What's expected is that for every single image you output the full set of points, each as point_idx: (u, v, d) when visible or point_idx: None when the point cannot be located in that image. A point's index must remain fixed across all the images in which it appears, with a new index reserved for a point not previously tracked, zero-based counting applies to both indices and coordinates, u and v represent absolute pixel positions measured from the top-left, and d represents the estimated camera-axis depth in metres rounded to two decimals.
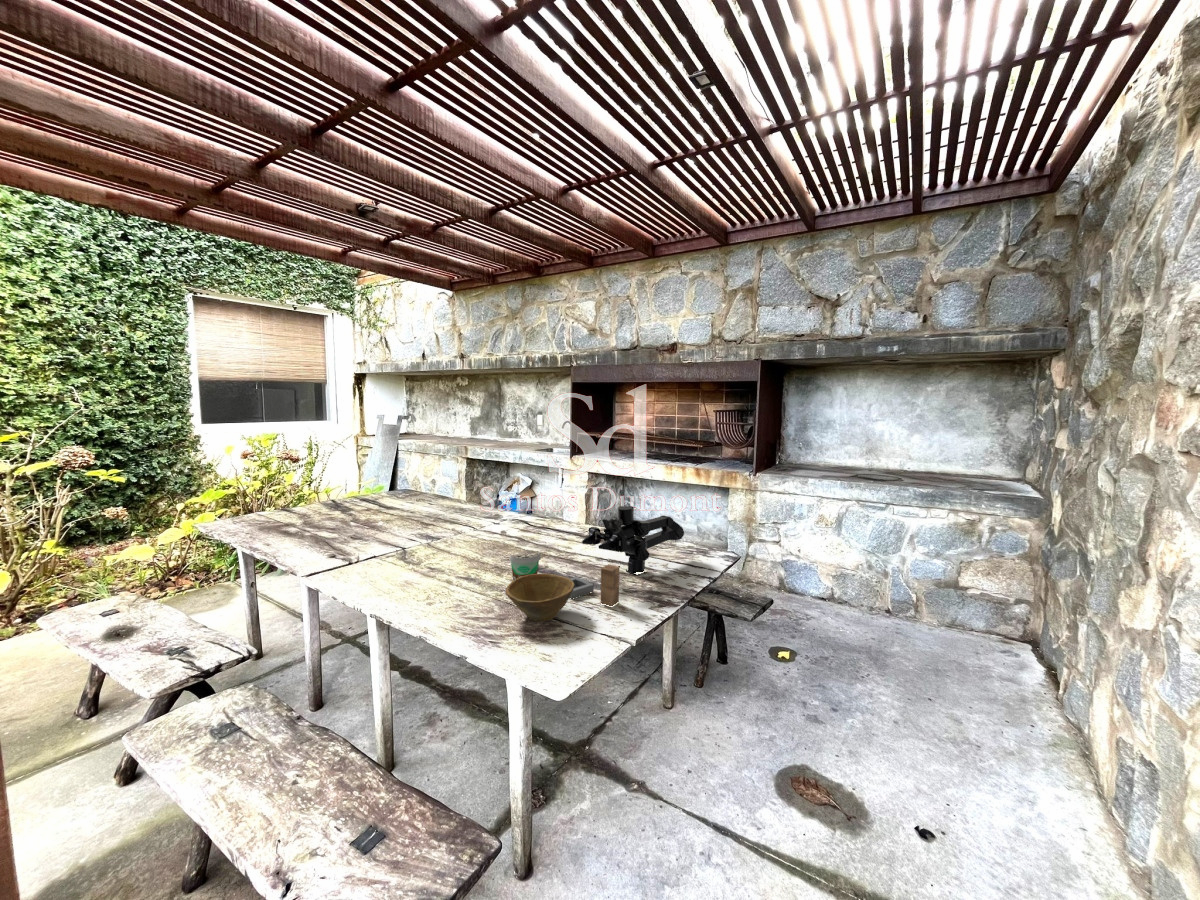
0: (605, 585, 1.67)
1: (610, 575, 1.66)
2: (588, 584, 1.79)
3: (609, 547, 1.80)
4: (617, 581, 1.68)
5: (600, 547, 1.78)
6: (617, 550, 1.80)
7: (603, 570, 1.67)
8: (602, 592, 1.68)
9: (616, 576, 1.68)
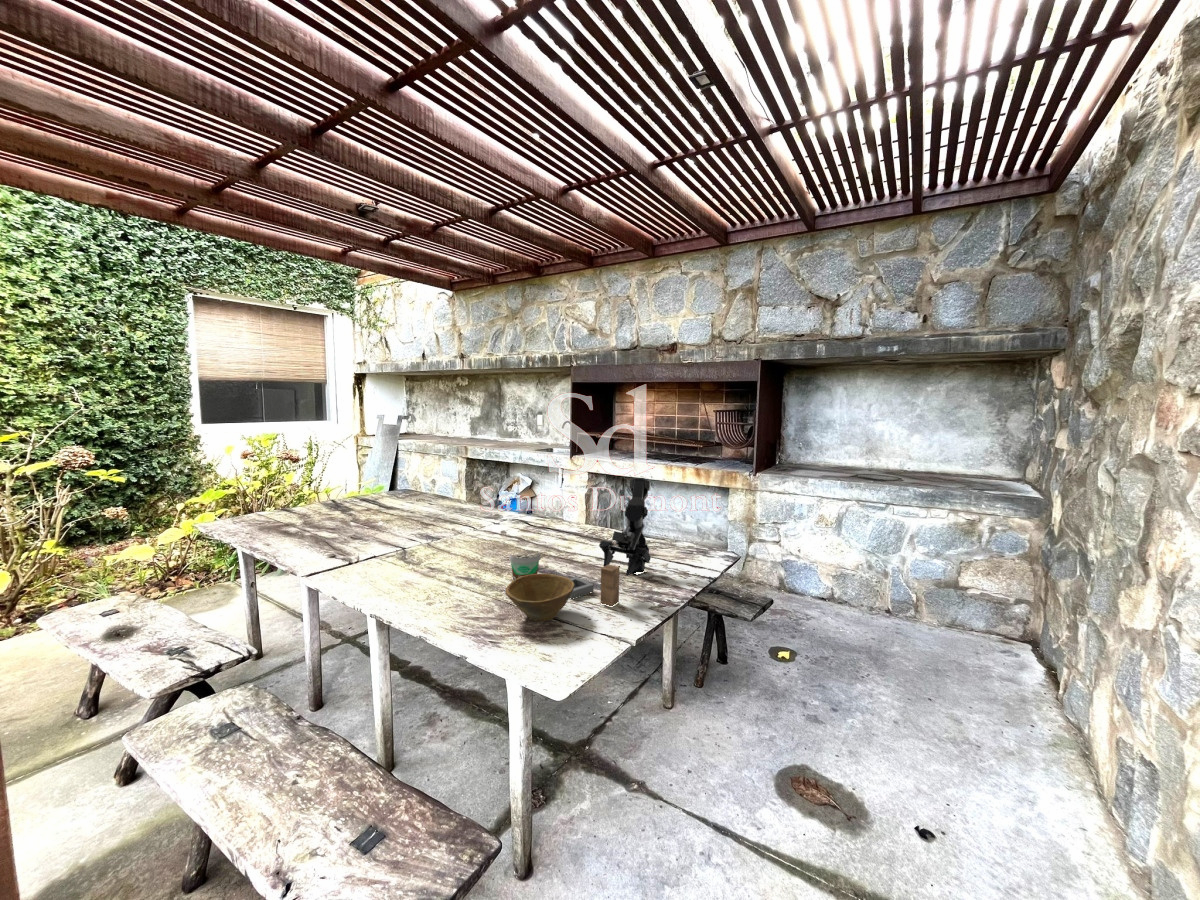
0: (605, 585, 1.67)
1: (610, 575, 1.66)
2: (588, 584, 1.79)
3: (635, 566, 1.70)
4: (617, 581, 1.68)
5: (627, 574, 1.69)
6: (643, 563, 1.72)
7: (603, 570, 1.67)
8: (602, 592, 1.68)
9: (616, 576, 1.68)
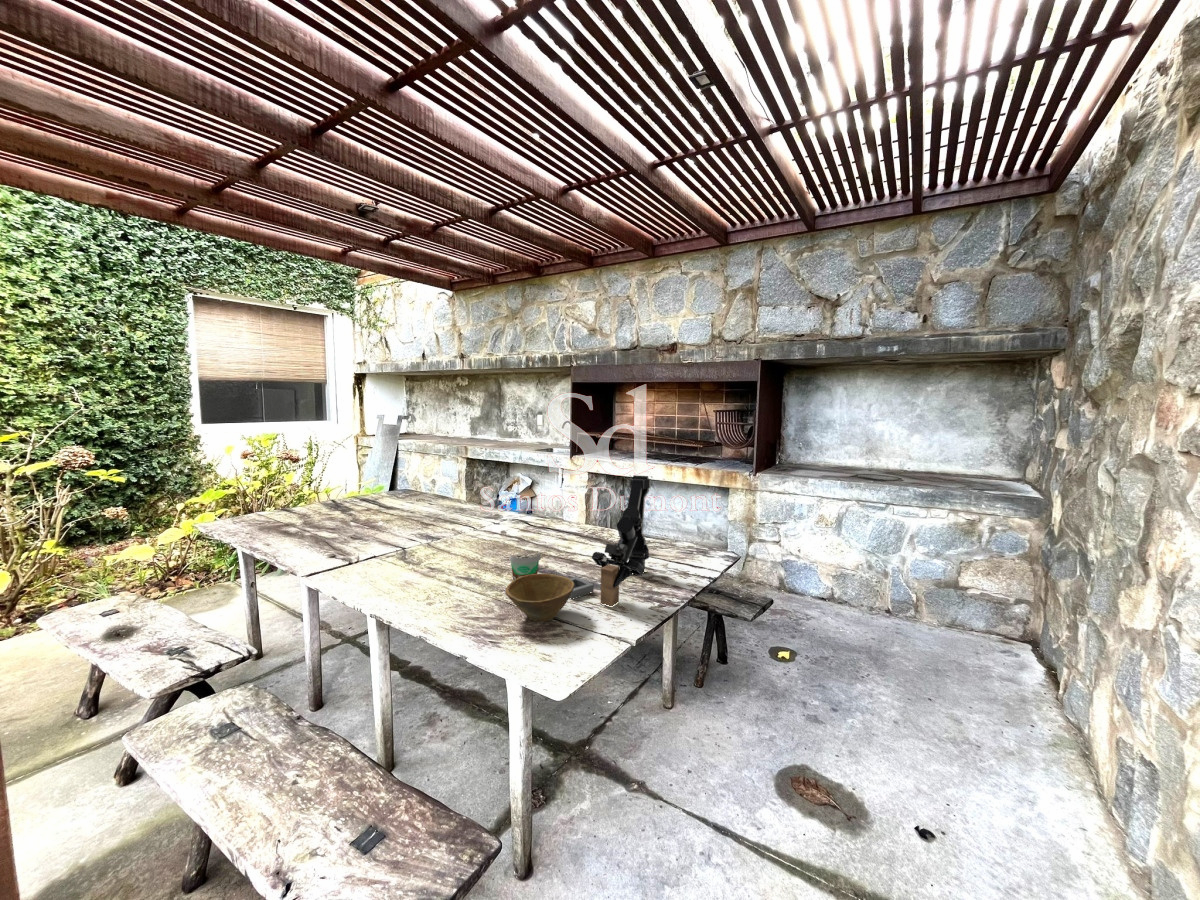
0: (605, 585, 1.67)
1: (610, 575, 1.66)
2: (588, 584, 1.79)
3: (622, 578, 1.68)
4: None
5: (614, 586, 1.66)
6: (630, 575, 1.70)
7: (603, 570, 1.67)
8: (602, 592, 1.68)
9: (616, 576, 1.68)
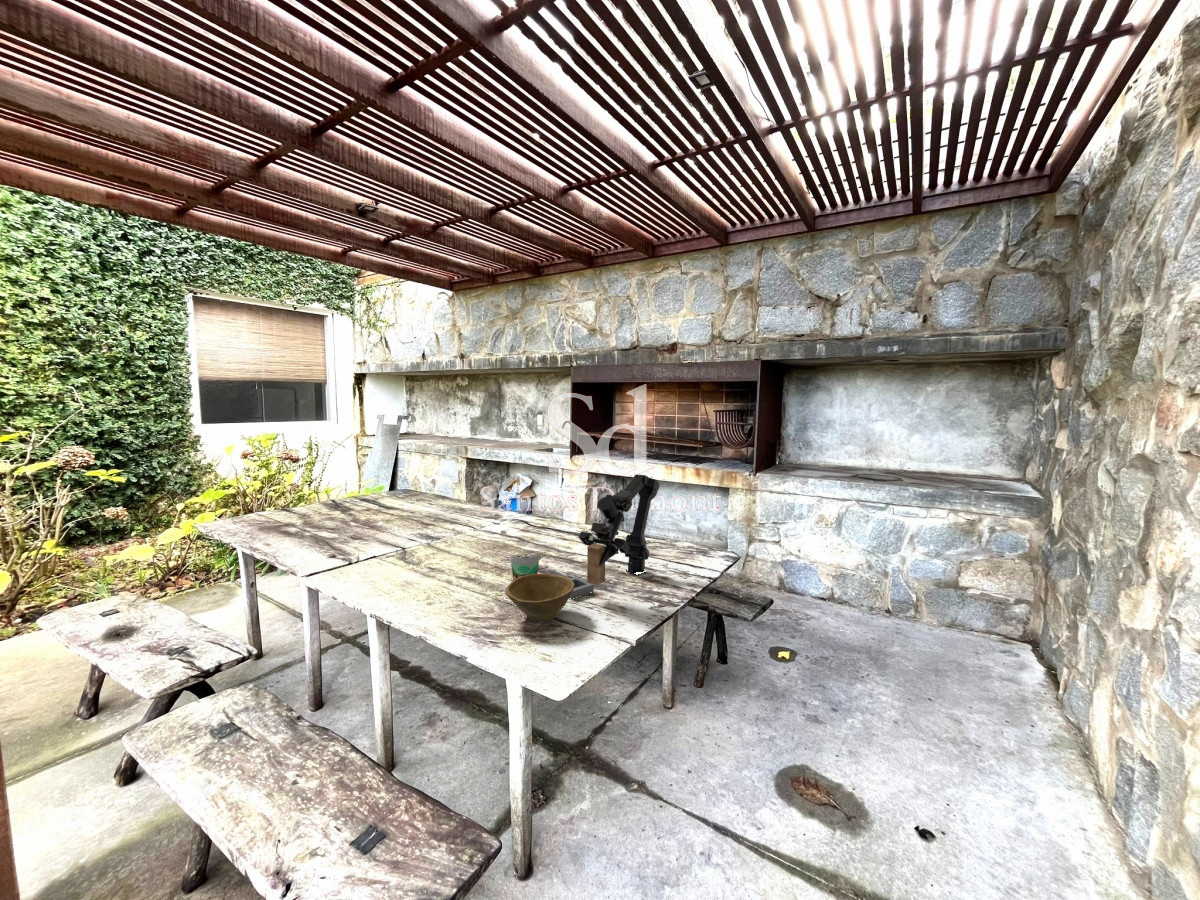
0: (592, 563, 1.70)
1: (596, 553, 1.69)
2: (588, 584, 1.79)
3: (608, 556, 1.71)
4: None
5: (600, 563, 1.70)
6: (616, 553, 1.73)
7: (589, 548, 1.70)
8: (589, 570, 1.71)
9: None
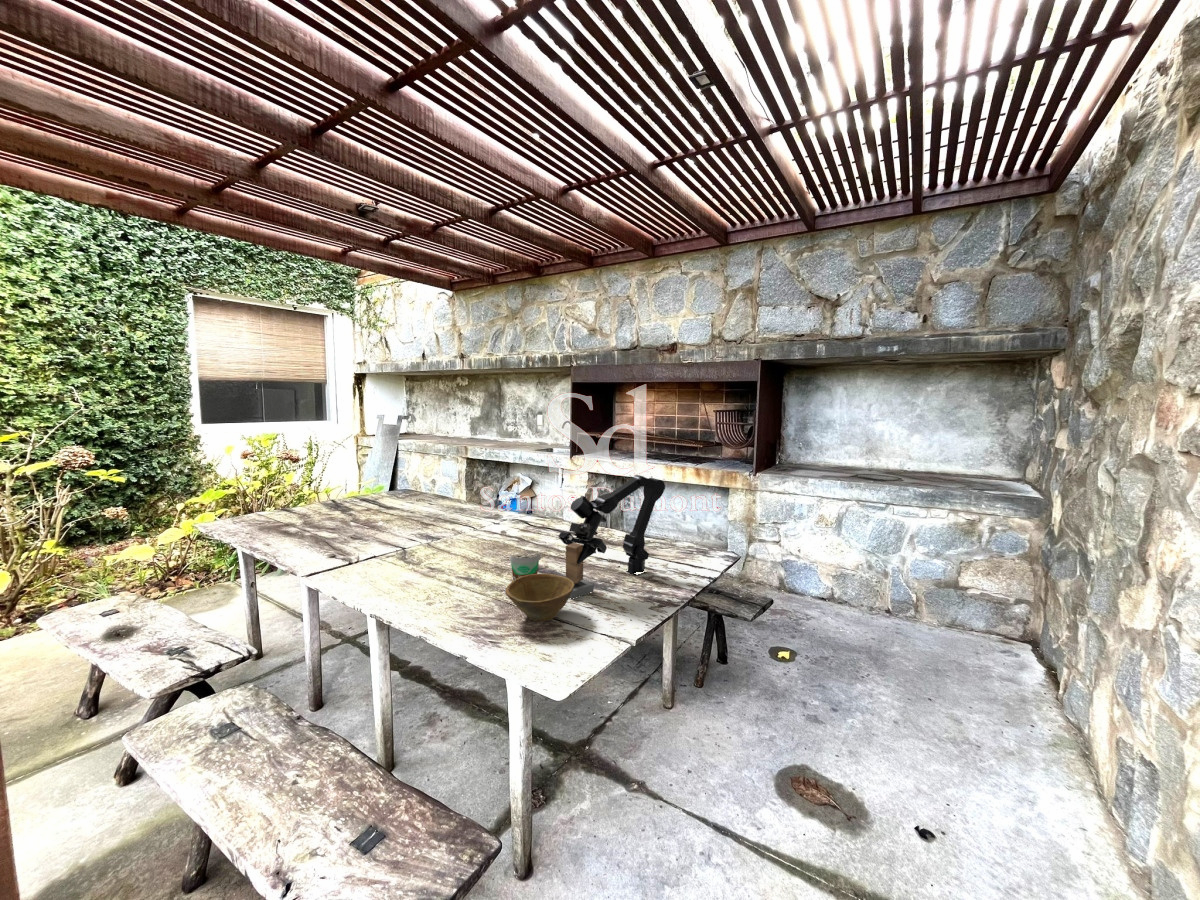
0: (570, 562, 1.77)
1: (574, 552, 1.75)
2: (588, 584, 1.79)
3: (586, 555, 1.78)
4: None
5: (578, 562, 1.76)
6: (594, 552, 1.79)
7: (568, 548, 1.77)
8: (567, 568, 1.78)
9: None
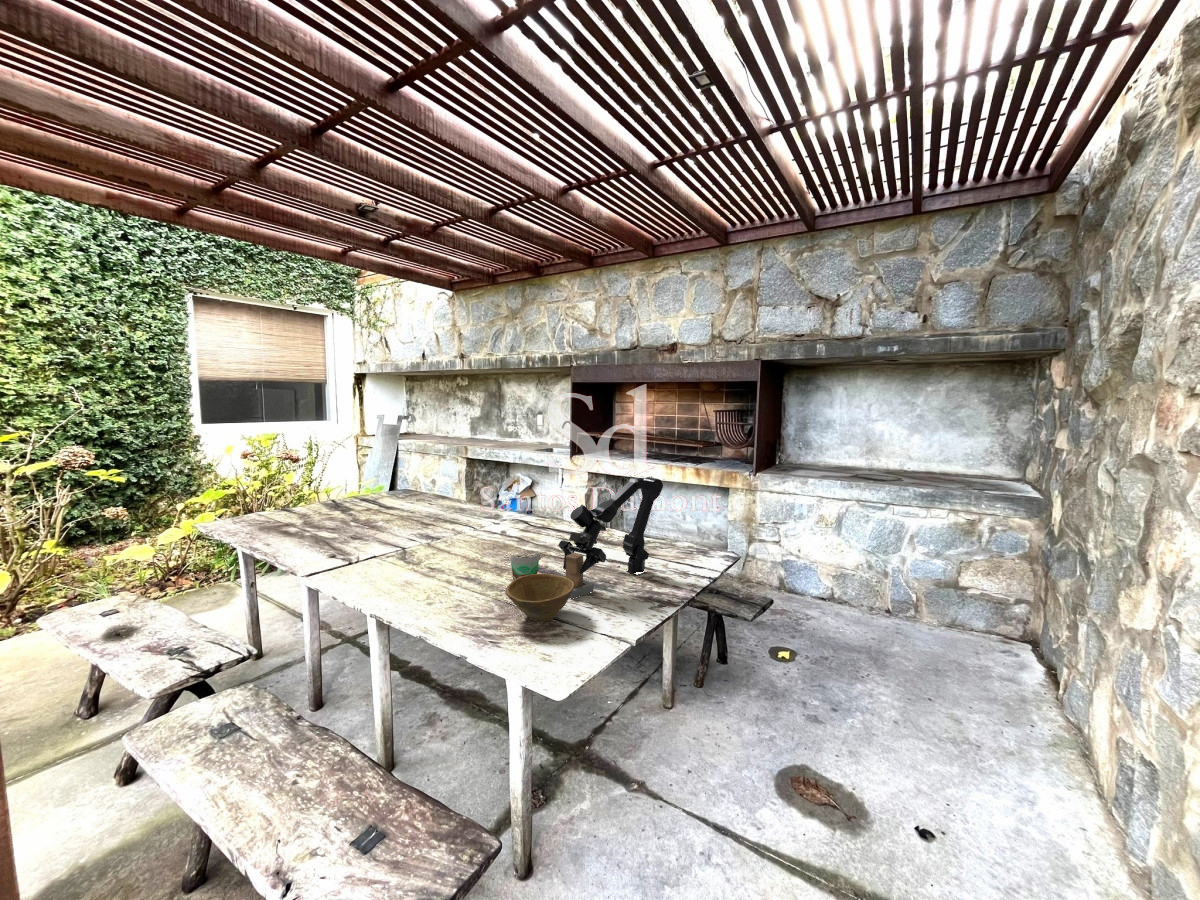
0: (569, 572, 1.77)
1: (574, 562, 1.76)
2: (588, 584, 1.79)
3: (589, 565, 1.77)
4: None
5: (581, 572, 1.76)
6: (597, 562, 1.79)
7: (567, 558, 1.77)
8: None
9: (580, 564, 1.78)
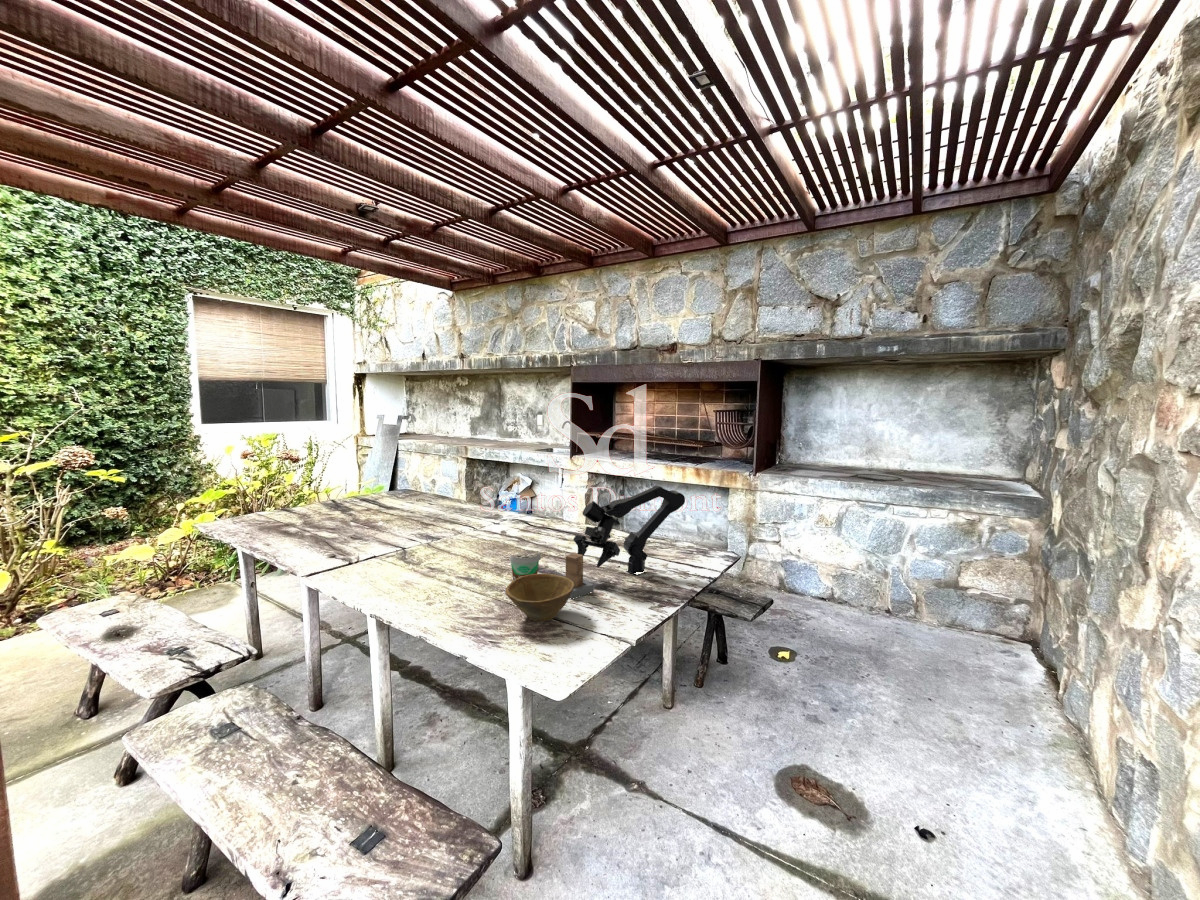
0: (569, 572, 1.77)
1: (574, 562, 1.76)
2: (588, 584, 1.79)
3: (605, 559, 1.85)
4: (581, 568, 1.78)
5: (598, 565, 1.83)
6: (613, 556, 1.86)
7: (567, 558, 1.77)
8: None
9: (580, 564, 1.78)
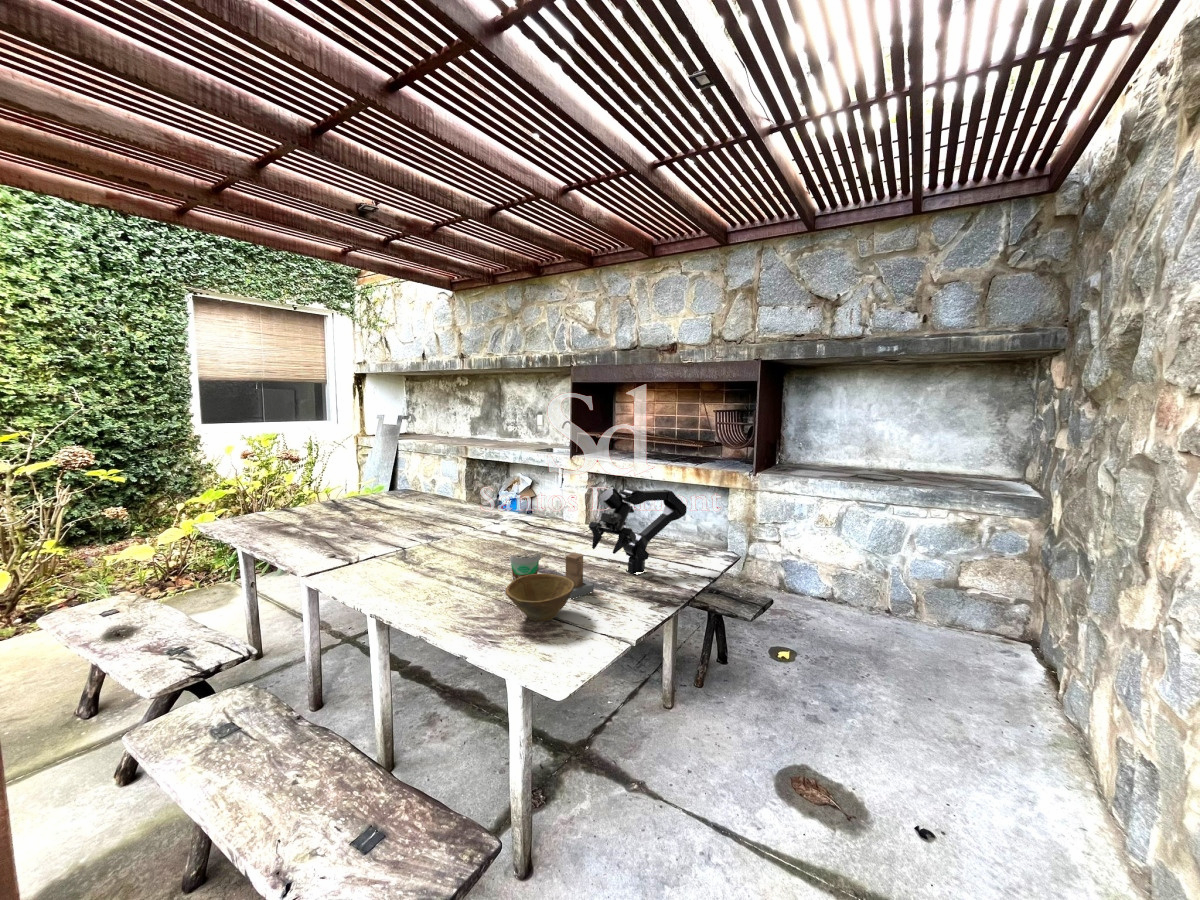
0: (569, 572, 1.77)
1: (574, 562, 1.76)
2: (588, 584, 1.79)
3: (621, 545, 1.83)
4: (581, 568, 1.78)
5: (614, 552, 1.82)
6: (629, 542, 1.85)
7: (567, 558, 1.77)
8: None
9: (580, 564, 1.78)
